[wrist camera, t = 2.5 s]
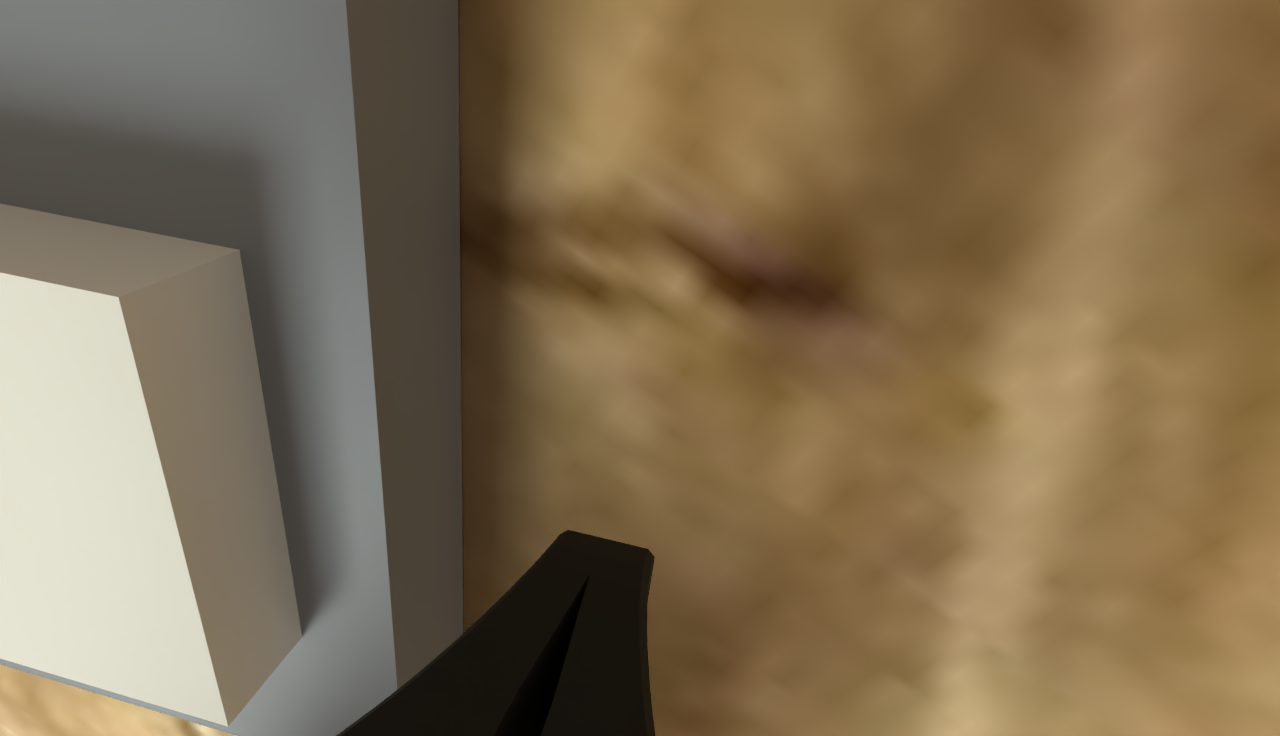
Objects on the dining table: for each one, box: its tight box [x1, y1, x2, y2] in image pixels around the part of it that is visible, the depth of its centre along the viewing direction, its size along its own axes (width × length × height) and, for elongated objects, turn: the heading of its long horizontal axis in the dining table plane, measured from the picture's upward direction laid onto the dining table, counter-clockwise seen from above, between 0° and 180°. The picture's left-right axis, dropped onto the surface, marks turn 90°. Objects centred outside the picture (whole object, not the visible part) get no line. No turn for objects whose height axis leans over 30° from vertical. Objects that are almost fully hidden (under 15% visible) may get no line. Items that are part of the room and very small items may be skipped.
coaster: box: [0, 204, 302, 727], centre depth 11 cm, size 8×8×2 cm
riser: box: [0, 0, 463, 736], centre depth 14 cm, size 16×12×3 cm
